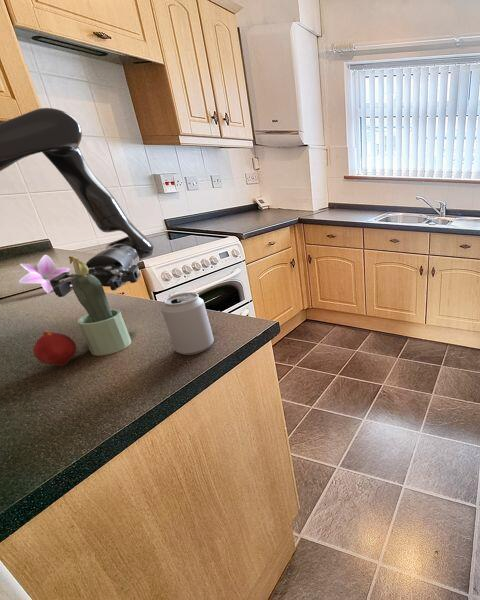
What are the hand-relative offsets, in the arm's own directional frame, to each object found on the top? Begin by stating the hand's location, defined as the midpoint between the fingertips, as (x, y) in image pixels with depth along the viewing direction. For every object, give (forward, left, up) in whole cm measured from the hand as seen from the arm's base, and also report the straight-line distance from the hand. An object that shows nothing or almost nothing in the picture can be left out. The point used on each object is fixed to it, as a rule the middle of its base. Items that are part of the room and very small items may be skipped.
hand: (85, 289), depth 68 cm
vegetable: (0, +1, -14) cm, 14 cm away
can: (+17, -7, -14) cm, 23 cm away
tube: (0, +1, -14) cm, 14 cm away
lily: (-28, +51, -14) cm, 60 cm away
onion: (-7, -4, -14) cm, 16 cm away
